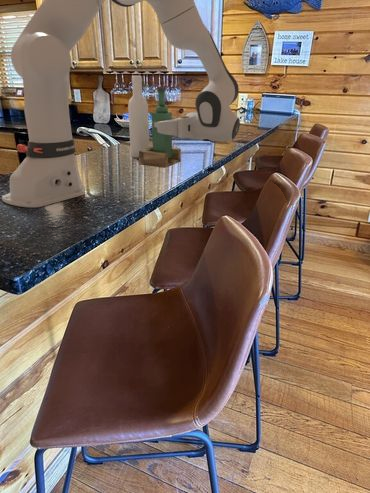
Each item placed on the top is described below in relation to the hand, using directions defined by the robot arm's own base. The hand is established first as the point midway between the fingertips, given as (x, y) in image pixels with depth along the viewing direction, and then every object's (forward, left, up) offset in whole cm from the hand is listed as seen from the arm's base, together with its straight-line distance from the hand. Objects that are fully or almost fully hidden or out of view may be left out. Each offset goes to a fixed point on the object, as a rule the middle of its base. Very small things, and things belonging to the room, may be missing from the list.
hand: (159, 123), depth 131 cm
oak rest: (0, 0, -14) cm, 14 cm away
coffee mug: (+59, +7, -15) cm, 61 cm away
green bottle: (0, -1, -12) cm, 12 cm away
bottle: (+7, +14, -15) cm, 22 cm away
